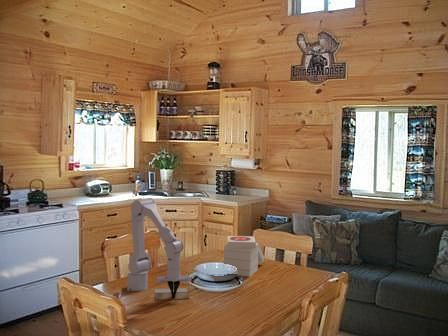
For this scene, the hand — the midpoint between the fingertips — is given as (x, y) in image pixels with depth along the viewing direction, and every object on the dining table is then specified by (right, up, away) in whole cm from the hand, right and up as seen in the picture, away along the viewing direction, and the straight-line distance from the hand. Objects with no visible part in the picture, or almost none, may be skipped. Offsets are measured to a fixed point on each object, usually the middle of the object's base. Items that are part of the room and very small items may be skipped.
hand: (173, 297), depth 212 cm
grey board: (-2, -1, +10) cm, 10 cm away
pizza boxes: (+34, +1, +54) cm, 64 cm away
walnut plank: (-1, -1, +2) cm, 3 cm away
